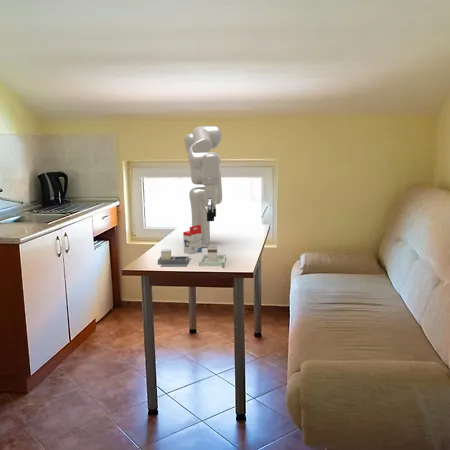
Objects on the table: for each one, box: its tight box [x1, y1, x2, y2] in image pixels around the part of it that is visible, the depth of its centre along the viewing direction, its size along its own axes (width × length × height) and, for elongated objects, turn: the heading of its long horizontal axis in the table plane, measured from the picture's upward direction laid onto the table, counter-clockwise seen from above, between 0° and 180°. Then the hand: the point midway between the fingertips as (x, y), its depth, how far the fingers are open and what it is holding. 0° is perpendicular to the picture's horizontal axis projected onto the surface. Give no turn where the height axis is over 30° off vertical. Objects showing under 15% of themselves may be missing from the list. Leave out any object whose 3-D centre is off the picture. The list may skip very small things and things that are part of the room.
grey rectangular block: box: [207, 244, 219, 262], centre depth 228 cm, size 4×4×8 cm
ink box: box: [182, 225, 203, 255], centre depth 248 cm, size 8×5×15 cm, turn 141°
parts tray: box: [198, 254, 227, 269], centre depth 228 cm, size 14×11×2 cm
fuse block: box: [157, 248, 192, 268], centre depth 228 cm, size 16×14×7 cm
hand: (211, 218), depth 225 cm, fingers open, 9 cm apart
